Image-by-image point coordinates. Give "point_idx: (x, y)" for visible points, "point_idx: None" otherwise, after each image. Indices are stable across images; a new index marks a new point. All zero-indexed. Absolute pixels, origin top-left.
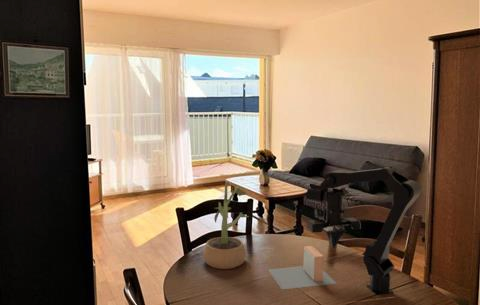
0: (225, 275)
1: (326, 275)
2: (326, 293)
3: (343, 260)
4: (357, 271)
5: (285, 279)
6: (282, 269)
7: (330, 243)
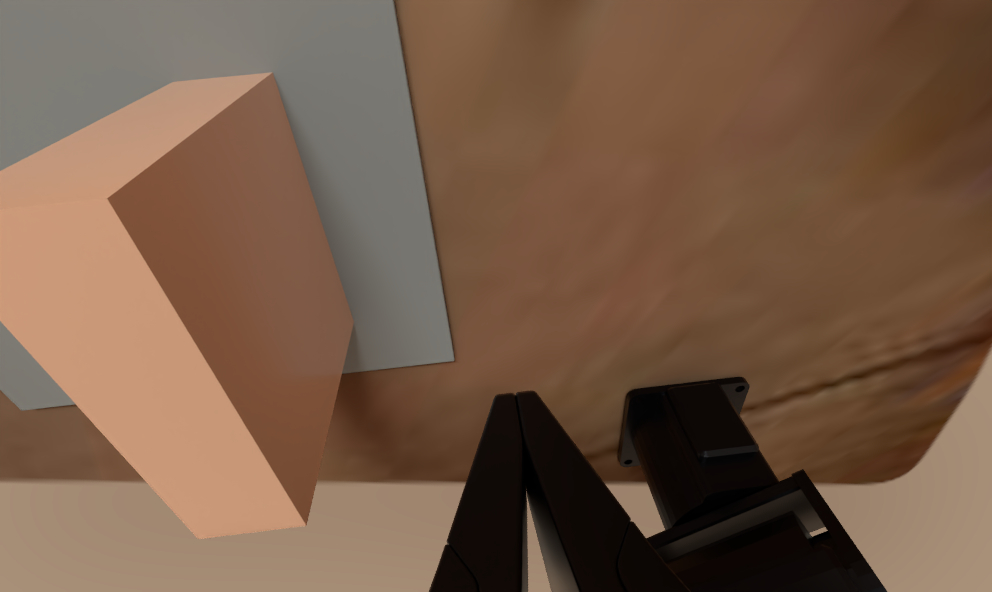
0: None
1: (414, 244)
2: (349, 434)
3: None
4: (749, 168)
5: None
6: None
7: (480, 456)
